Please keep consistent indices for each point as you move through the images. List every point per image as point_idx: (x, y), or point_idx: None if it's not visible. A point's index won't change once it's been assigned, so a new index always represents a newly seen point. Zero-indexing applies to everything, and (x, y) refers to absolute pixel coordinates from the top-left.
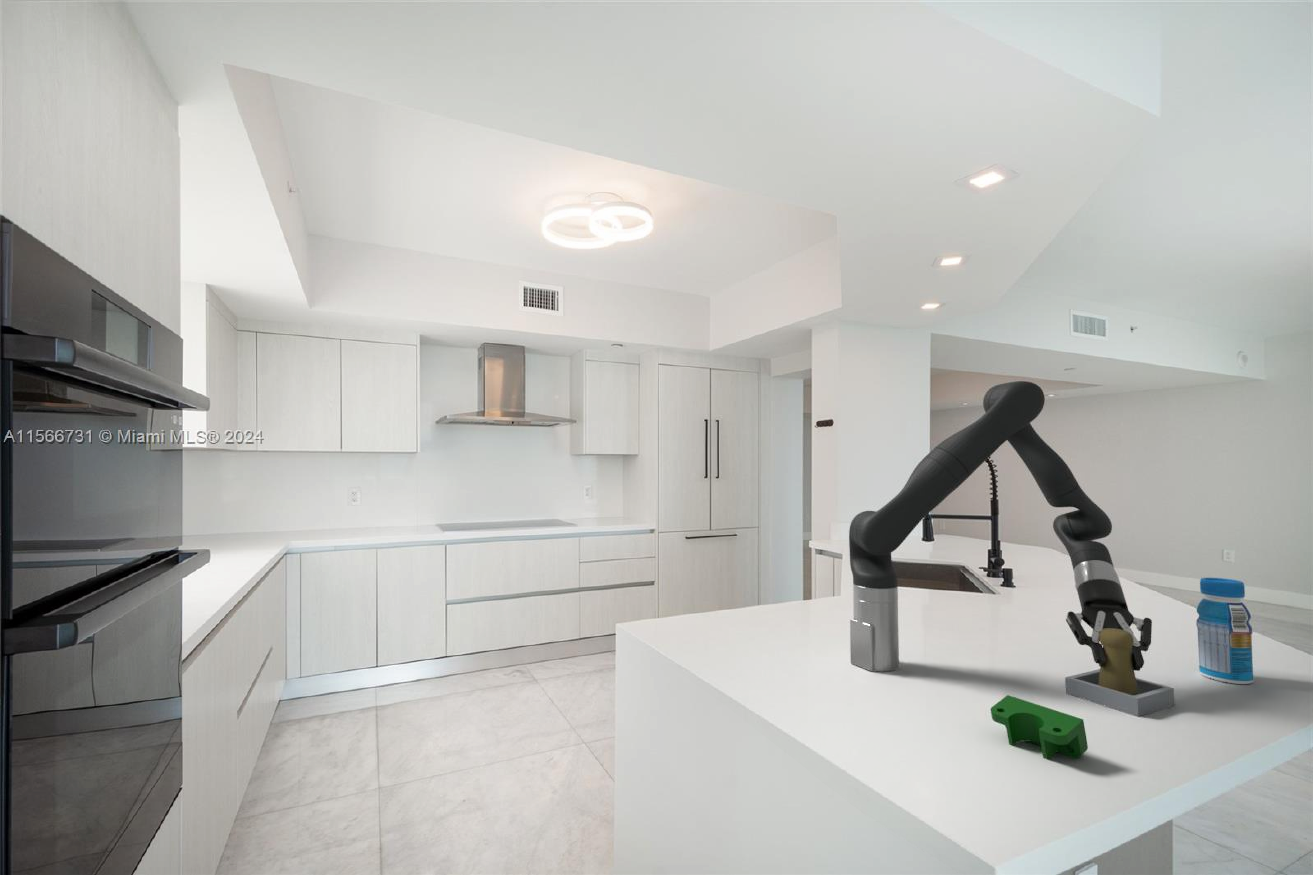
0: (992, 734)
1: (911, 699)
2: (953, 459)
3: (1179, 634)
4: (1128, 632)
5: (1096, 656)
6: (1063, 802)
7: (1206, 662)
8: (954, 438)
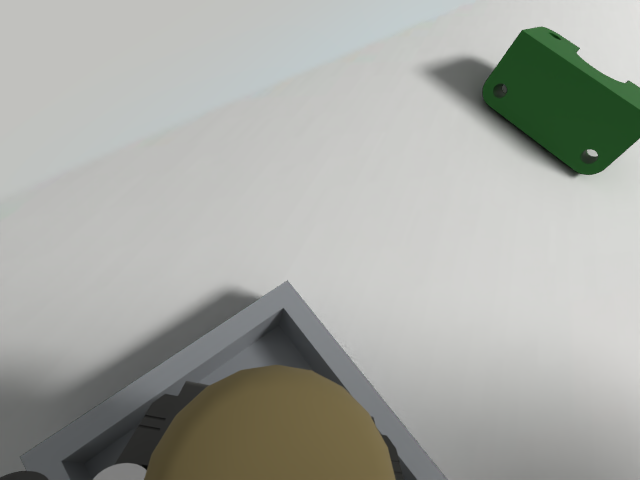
0: (617, 162)
1: None
2: None
3: None
4: (181, 455)
5: (392, 447)
6: (524, 15)
7: None
8: None
